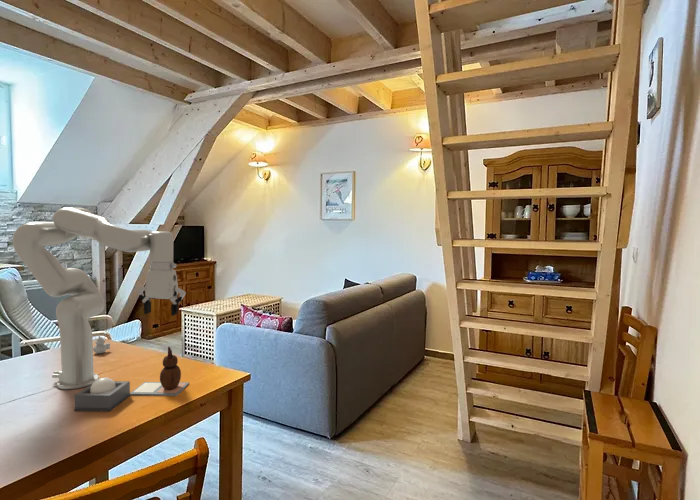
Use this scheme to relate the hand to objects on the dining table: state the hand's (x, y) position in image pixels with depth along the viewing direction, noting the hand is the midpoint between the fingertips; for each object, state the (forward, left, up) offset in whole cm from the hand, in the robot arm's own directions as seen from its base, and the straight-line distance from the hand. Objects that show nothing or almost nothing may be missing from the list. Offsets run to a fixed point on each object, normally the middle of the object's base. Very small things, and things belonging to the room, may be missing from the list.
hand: (160, 314), depth 145 cm
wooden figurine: (+5, -5, -25) cm, 26 cm away
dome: (-11, -16, -24) cm, 31 cm away
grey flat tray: (+2, -5, -25) cm, 26 cm away
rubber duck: (-42, +33, -26) cm, 59 cm away
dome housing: (-11, -16, -25) cm, 32 cm away
